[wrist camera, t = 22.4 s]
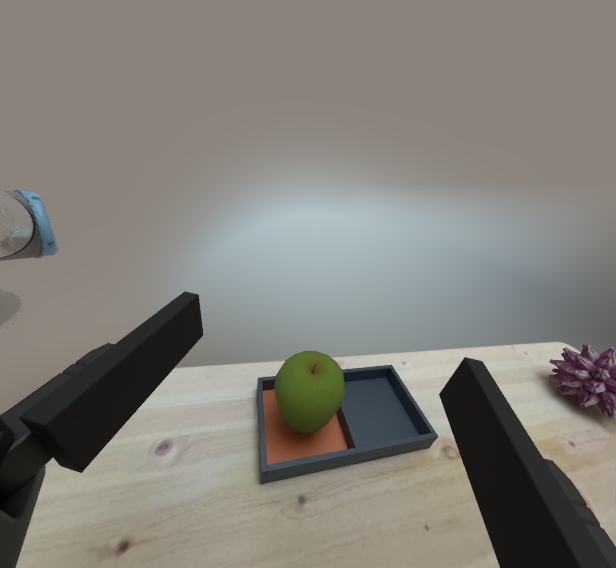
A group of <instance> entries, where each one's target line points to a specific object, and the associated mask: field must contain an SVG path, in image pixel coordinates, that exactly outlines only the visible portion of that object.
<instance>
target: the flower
mask: <svg viewBox="0 0 616 568" xmlns="http://www.w3.org/2000/svg"><path fill="white" fill-rule="evenodd" d="M563 350H564V352H565V353H564V352H563V353H562V354H561V355H562V356H563V357H564V360H565V361H562V360H552V359H550V363H552V364H554V365H555V366H557V367H558V368H559V369H554V368H553V370H552V371H553V372H556V373H558V374H556V375H550V379H557V380H559V381H560V384H561V385H562V386H561V387H559V388H558V390H560V393H561V394H562V395H565V394H578V401H579V403H578V406H579V407H580V408H583V407H584V408H587V407H588V406H589V405H594V404H597V405H598V406H599V408H600V409H601V410H602V412H603V413H607V414H608V416H609V417H610V419H611V418H612V417H613V418H616V348H614V347H610V349H609V350H608V351H605V352H603V353H602V354H600V356H599V355H598V354H597V353H596V352H595V351H593V349H592V348H591V346H590V345H583V350H582V352H581V355H580V354H578V353H576V352H574V351H571V350H569V349H568V348H567V347H566V348H564V349H563ZM581 387H582V389H580V388H581Z"/></svg>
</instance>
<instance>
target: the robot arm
mask: <svg viewBox="0 0 616 568" xmlns="http://www.w3.org/2000/svg"><path fill="white" fill-rule="evenodd" d="M57 251H58V246H57V243H56V239H55V236H54V233H53V230H52V227H51V225H50V221H49V218H48V216H47V213H46V210H45V207H44V205H43V202H42V199H41V197H40V196H39V195H38V194H36V193H33V192H23V191H21V190H20V191H19V190H15V191H13V192H10V191H2V190H0V261H1V260H11V259H21V258H32V257H35V258H41V257H43V256H48V255H54V254H56V253H57ZM202 336H203V328H202V321H201V311H200V303H199V295H197V294H193V293H189V292H183V293H182V294H181V295H179V296H178V297H177V298H175V299H174V300H173V301H171V302H170V303H169V304H168V305H166V306H165V307H164V308H162V309H161V310H160V311H158V312H157V313H156V314H154V315H153V316H152V317H150V318H149V319H148V320H146V321H145V322H144V323H142V324H141V325H140V326H138V327H137V328H136V329H135V330H133V331H132V332H131V333H129V334H128V335H127V336H125V337H124V338H123V339H121V340H120V341H119V342H117V343H116V344H115V345H114V344H110V343H107V344H105V345H103V346H101V347H99V348H97V349H94V350H92V351H90V352H89V353H88V354H86V355H85V356H83V357H82V358H81V359H79V360H78V361H77V362H76V363H75V364H72V365H71V366H69V367H68V368H67V369H65V370H64V371H63V373H61V374H58V375H57V376H55V377H54V378H53V379H51V380H50V381H48V382H47V383H46V384H44V385H43V386H41V387H40V388H39V389H37V390H36V391H34V392H33V393H32V394H30V395H29V396H27V397H26V398H25V399H23V400H22V401H21V402H19V403H18V404H16V405H15V406H13V407H12V408H11V409H9V410H8V411H6V412H5V413H3V414H2V415H0V568H15V567H16V564H17V561H18V558H19V555H20V552H21V548H22V545H23V542H24V539H25V536H26V533H27V529H28V526H29V523H30V520H31V517H32V514H33V510H34V507H35V504H36V501H37V498H38V495H39V492H40V488H41V485H42V482H43V479H44V476H45V468H46V466H45V465H46V464H47V463H48V462H49V461H50V460H51V459H52V458H54V459H55V460H56V461H57V462H58V464H59V465H60V466H62V467H65V468H68V469H71V470H74V471H77V472H80V473H82V472H83V471H84V469H85V468H86V467H87V466H88V465H89V464H90V463H91V462H92V460H93V459H94V458H95V457H96V456H97V455H98V454H99V453H100V451H101V450H102V449H103V448H104V447H105V446H106V445H107V443H108V442H109V441H110V440H111V439H112V438H113V437H114V436H115V434H116V433H117V432H118V431H119V430H120V429H121V428H122V426H123V425H124V424H125V423H126V422H127V421H128V420H129V419H130V417H131V416H132V415H133V414H134V413H135V412H136V411H137V409H138V408H139V407H140V406H141V405H142V404H143V403H144V402H145V400H146V399H147V398H148V397H149V396H150V395H151V394H152V392H153V391H154V390H155V389H156V388H157V387H158V386H159V385H160V383H161V382H162V381H163V380H164V379H165V378H166V377H167V375H168V374H169V373H170V372H171V371H172V370H173V369H174V368H175V366H176V365H177V364H178V363H179V362H180V361H181V360H182V358H183V357H184V356H185V355H186V354H187V353H188V352H189V350H190V349H191V348H192V347H193V346H194V345H195V344H196V343H197V341H198V340H199V339H200V338H201V337H202ZM439 396H440V398H441V401H442V404H443V407H444V410H445V413H446V415H447V418H448V421H449V424H450V427H451V430H452V432H453V435H454V438H455V441H456V444H457V447H458V449H459V452H460V455H461V458H462V461H463V464H464V466H465V469H466V472H467V475H468V478H469V481H470V483H471V486H472V489H473V492H474V495H475V498H476V500H477V503H478V506H479V509H480V512H481V515H482V517H483V520H484V523H485V526H486V529H487V532H488V534H489V537H490V540H491V543H492V546H493V549H494V551H495V554H496V557H497V560H498V563H499V566H500V568H616V547H615V545H614V544H613V542H612V541H611V539H610V538H609V536H608V535H607V533H606V532H605V530H604V529H602V528H601V527H600V523H599V521H598V520H597V518H596V517H595V515H594V514H593V512H592V511H591V510H590V509H589V508H588V507H587V506H586V502H585V501H584V499H583V498H582V496H581V495H580V493H579V492H578V490H577V489H576V487H575V486H574V484H573V483H572V481H571V480H570V479H569V478H568V477H567V476H566V475H565V474H564V473H563V472H562V471H561V469H560V468H559V467H558V466H557V465H556V464H555V463H554V462H553V461H551V460H548V459H544V458H543V457H542V456H541V454H540V453H539V451H538V449H537V448H536V446H535V445H534V443H533V441H532V440H531V438H530V437H529V435H528V433H527V432H526V430H525V429H524V427H523V425H522V424H521V422H520V421H519V419H518V417H517V416H516V414H515V413H514V411H513V409H512V408H511V406H510V405H509V403H508V402H507V400H506V398H505V397H504V395H503V394H502V392H501V390H500V389H499V387H498V386H497V384H496V382H495V381H494V379H493V378H492V376H491V374H490V373H489V371H488V370H487V368H486V366H485V365H484V363H483V362H482V361H479V360H474V359H470V358H466V357H465V358H464V359H463V361H462V362H461V363H460V365H459V366H458V368H457V369H456V371H455V372H454V374H453V375H452V377H451V378H450V379H449V381H448V382H447V384H446V385H445V387H444V388H443V390H442V391H441V392H440V394H439Z"/></svg>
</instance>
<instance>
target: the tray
mask: <svg viewBox="0 0 616 568" xmlns="http://www.w3.org/2000/svg"><path fill="white" fill-rule="evenodd" d="M342 371H343V376H344V384H345V395H344V398H343V401H342V404H341V406H340V407H339V409H338V410H337V412H336V414H335V415H334V417H333V418H332V419H331V420H330V422H329V423H328V424H327V425H326V426H325V427H323V428H321V429H320V430H318V431H316V432H314V433H311V434H300V433H298V432H295V431H293V430H291V428H290V427H289V426H288V425H287V424H286V422H285V420H284V418H283V417H282V415H281V413H280V410H279V407H278V405H277V402H276V397H275V391H274V385H275V378H276V376H272V377H262V378H258V385H257V396H258V424H259V452H260V480H261V484H263V483H268V482H272V481H277V480H282V479H286V478H291V477H296V476H300V475H305V474H310V473H314V472H319V471H323V470H328V469H333V468H337V467H342V466H347V465H351V464H356V463H361V462H365V461H370V460H374V459H379V458H384V457H388V456H393V455H398V454H402V453H407V452H412V451H416V450H421V449H425V448H430V446H431V445H432V444H433V442H434V441H435V440H436V439H437V437H438V435H437V434H436V432H435V431H434V429H433V428H432V426H431V425H430V423H429V422H428V420H427V419H426V417H425V415H424V414H423V412H422V411H421V409H420V408H419V406H418V405H417V403H416V402H415V400H414V399H413V397H412V395H411V394H410V392H409V391H408V389H407V388H406V386H405V385H404V383H403V382H402V380H401V379H400V377H399V375H398V374H397V372H396V371H395V369H394V368H393V366H392V365H386V366H375V367H365V368H355V369H344V370H342Z"/></svg>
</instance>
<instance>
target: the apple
mask: <svg viewBox="0 0 616 568" xmlns="http://www.w3.org/2000/svg"><path fill="white" fill-rule="evenodd" d="M274 391H275V397H276V402H277V405H278V407H279V410H280V413H281V415H282V417H283V418H284V420H285V422H286V424H287V425H288V426H289V427H290V428H291V430H293V431H295V432H298V433H300V434H311V433H314V432H316V431H318V430H320V429H321V428H323V427H325V426H326V425H327V424H328V423H329V422H330V420H331V419H332V418H333V417H334V415H335V414H336V412H337V410H338V409H339V407H340V406H341V404H342V401H343V398H344V395H345V384H344V376H343V371H342V369H341V368H340V366H339V365H338V363H337V362H336V361H335V360H333V359H332V358H331V357H329V356H328V355H326V354H323V353H320V352H317V351H304V352H301V353H297V354H295V355H293V356H292V357H290V358H289V359H287V360H286V361H285V363H284V364H283V365H282V367H281V369H280V370H279V372H278V373H277V375H276V378H275V385H274Z"/></svg>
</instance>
